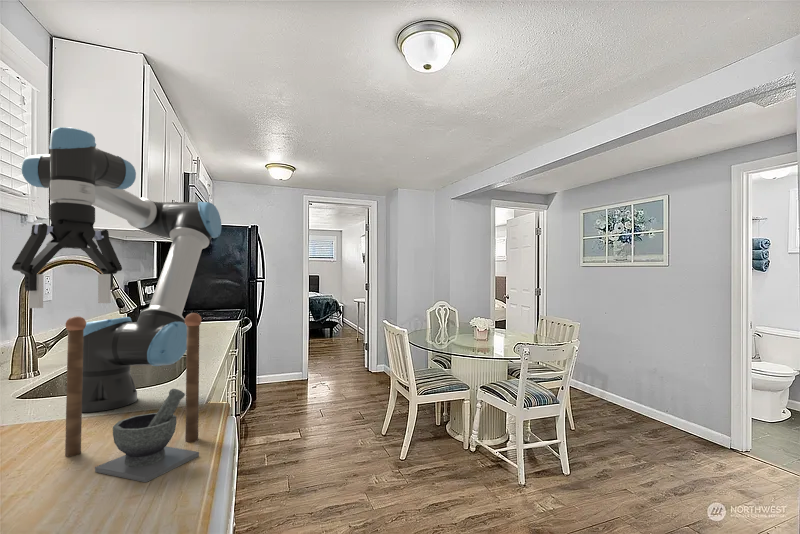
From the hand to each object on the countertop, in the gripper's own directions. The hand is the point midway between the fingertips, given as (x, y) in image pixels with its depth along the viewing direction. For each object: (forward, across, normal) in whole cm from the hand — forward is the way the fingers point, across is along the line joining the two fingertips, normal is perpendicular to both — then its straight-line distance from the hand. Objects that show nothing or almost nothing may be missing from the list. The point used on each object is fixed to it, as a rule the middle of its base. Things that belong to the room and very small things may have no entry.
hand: (72, 305), depth 87 cm
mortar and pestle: (+27, -4, -25) cm, 37 cm away
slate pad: (+28, -4, -25) cm, 38 cm away
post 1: (+28, -5, -7) cm, 29 cm away
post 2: (+28, +8, -24) cm, 37 cm away
